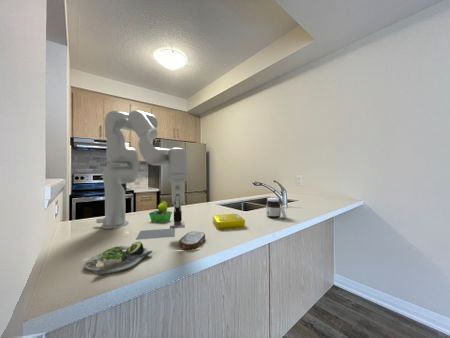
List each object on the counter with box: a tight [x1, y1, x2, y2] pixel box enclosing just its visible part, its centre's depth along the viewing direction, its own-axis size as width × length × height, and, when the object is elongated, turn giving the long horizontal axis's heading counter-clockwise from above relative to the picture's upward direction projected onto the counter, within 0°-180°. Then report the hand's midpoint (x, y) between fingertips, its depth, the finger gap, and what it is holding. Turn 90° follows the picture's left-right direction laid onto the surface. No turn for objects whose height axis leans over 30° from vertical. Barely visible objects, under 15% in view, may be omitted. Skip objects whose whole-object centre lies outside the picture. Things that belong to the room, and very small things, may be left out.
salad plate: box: [83, 241, 153, 276], centre depth 65 cm, size 19×18×5 cm
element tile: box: [212, 213, 246, 231], centre depth 107 cm, size 15×15×5 cm
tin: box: [178, 231, 206, 251], centre depth 82 cm, size 15×3×8 cm
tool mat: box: [135, 228, 176, 241], centre depth 91 cm, size 16×12×1 cm
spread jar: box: [265, 197, 287, 219], centre depth 123 cm, size 12×11×12 cm
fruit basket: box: [148, 200, 173, 223], centre depth 114 cm, size 11×9×11 cm
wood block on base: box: [169, 221, 186, 229], centre depth 84 cm, size 6×5×9 cm
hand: (177, 219), depth 84 cm, fingers closed on wood block on base, 2 cm apart
